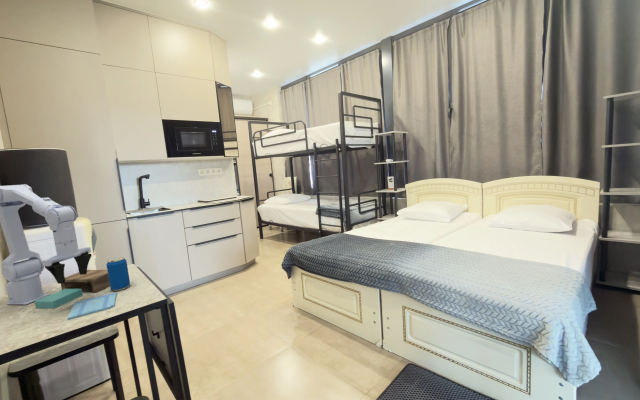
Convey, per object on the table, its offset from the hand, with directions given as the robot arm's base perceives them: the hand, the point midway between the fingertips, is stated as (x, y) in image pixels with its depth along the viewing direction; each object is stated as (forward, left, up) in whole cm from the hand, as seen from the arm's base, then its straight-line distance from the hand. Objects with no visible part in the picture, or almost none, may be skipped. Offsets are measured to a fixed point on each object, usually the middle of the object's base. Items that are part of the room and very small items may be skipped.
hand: (72, 278), depth 98 cm
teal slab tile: (-10, +2, -10) cm, 14 cm away
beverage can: (+5, +13, -10) cm, 17 cm away
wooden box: (-10, +14, -10) cm, 19 cm away
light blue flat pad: (+8, -1, -10) cm, 13 cm away
